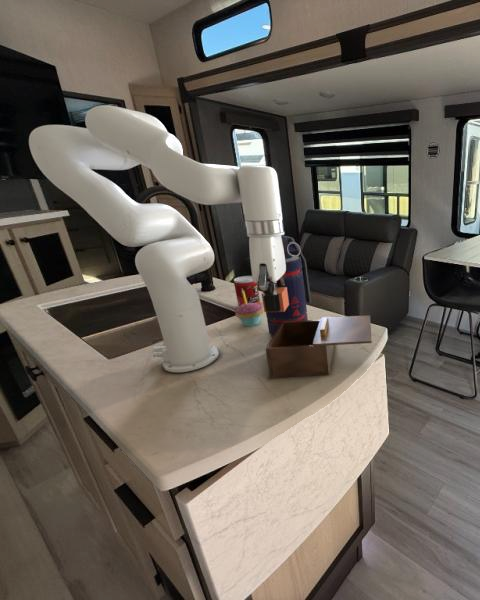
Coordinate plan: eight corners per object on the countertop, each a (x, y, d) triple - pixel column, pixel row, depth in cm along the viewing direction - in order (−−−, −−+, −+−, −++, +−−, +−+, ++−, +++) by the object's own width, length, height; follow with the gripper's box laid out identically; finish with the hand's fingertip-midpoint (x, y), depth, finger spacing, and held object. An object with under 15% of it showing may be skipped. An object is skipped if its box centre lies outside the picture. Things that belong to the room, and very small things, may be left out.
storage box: (270, 378, 77) (265, 349, 74) (285, 346, 92) (281, 321, 89) (328, 374, 78) (326, 345, 76) (334, 344, 93) (332, 319, 91)
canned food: (252, 310, 118) (247, 282, 114) (233, 308, 120) (228, 280, 116) (265, 303, 125) (260, 276, 121) (247, 301, 127) (242, 275, 123)
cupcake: (232, 325, 106) (225, 291, 102) (254, 316, 113) (249, 284, 108) (248, 330, 102) (241, 295, 97) (270, 321, 108) (265, 288, 104)
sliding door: (312, 346, 75) (311, 337, 74) (320, 319, 90) (320, 311, 89) (371, 343, 77) (371, 334, 76) (370, 317, 92) (369, 309, 91)
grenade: (282, 345, 93) (267, 242, 82) (262, 333, 100) (246, 237, 89) (321, 329, 102) (312, 236, 92) (300, 319, 110) (290, 232, 99)
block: (264, 312, 72) (261, 293, 71) (270, 305, 77) (267, 287, 75) (284, 311, 73) (281, 293, 71) (289, 304, 77) (286, 287, 75)
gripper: (260, 223, 76) (271, 295, 82) (231, 234, 60) (247, 322, 66) (292, 223, 76) (300, 294, 83) (271, 233, 61) (283, 321, 67)
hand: (276, 306), depth 75 cm, fingers closed on block, 4 cm apart
